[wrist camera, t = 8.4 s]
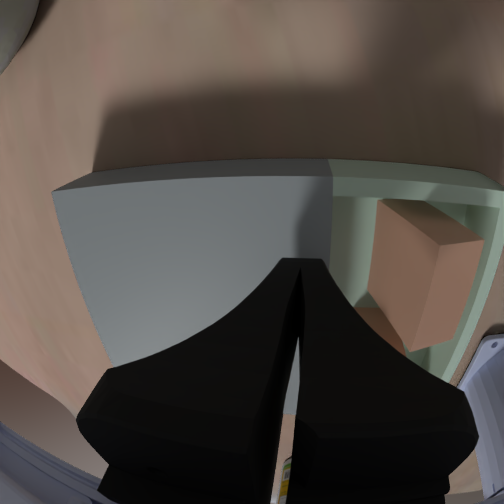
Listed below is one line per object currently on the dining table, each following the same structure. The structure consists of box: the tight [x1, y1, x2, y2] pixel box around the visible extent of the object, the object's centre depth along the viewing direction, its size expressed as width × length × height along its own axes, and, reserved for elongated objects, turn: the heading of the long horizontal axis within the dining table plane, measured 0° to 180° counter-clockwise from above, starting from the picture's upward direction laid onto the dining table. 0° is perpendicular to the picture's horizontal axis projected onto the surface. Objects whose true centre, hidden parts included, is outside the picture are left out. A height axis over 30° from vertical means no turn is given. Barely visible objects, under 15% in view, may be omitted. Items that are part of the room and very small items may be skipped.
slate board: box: [51, 159, 333, 415], centre depth 14 cm, size 11×12×3 cm
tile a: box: [353, 307, 406, 356], centre depth 13 cm, size 4×4×2 cm
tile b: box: [367, 199, 485, 352], centre depth 10 cm, size 4×4×2 cm
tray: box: [328, 159, 504, 383], centre depth 12 cm, size 7×12×3 cm, turn 4°
